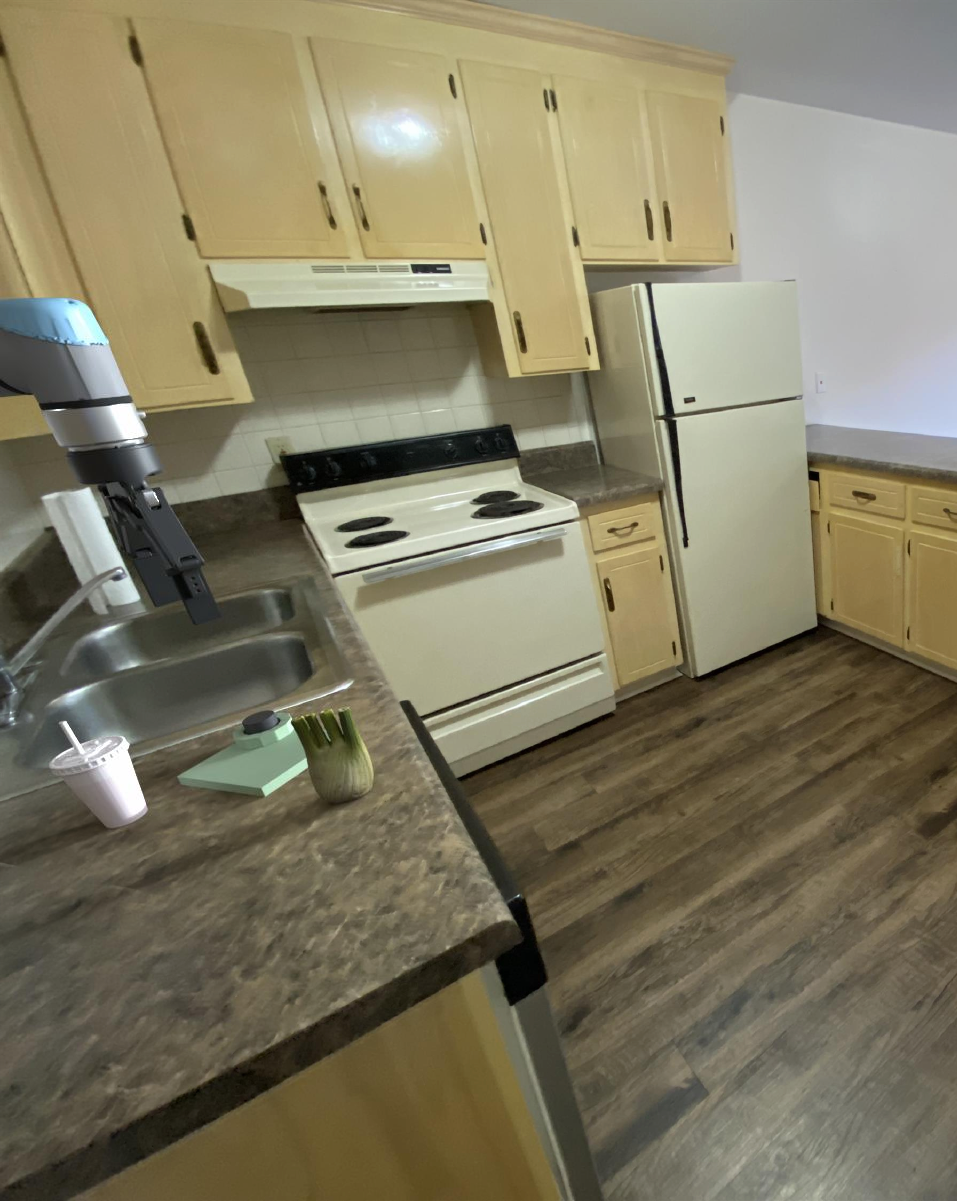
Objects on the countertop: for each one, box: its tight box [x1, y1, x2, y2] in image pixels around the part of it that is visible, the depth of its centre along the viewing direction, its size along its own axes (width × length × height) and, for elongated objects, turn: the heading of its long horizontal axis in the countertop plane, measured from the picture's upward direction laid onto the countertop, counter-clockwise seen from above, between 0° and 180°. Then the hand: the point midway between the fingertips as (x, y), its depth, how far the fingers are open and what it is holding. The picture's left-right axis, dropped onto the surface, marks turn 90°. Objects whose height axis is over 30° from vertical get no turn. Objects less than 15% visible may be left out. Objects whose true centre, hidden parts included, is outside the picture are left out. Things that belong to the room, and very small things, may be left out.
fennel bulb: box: [291, 706, 375, 805], centre depth 77 cm, size 6×5×12 cm
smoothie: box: [48, 720, 149, 829], centre depth 76 cm, size 6×6×14 cm
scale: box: [176, 712, 343, 798], centre depth 87 cm, size 14×13×3 cm
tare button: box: [241, 709, 279, 735], centre depth 90 cm, size 4×4×2 cm
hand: (187, 611), depth 84 cm, fingers open, 13 cm apart
